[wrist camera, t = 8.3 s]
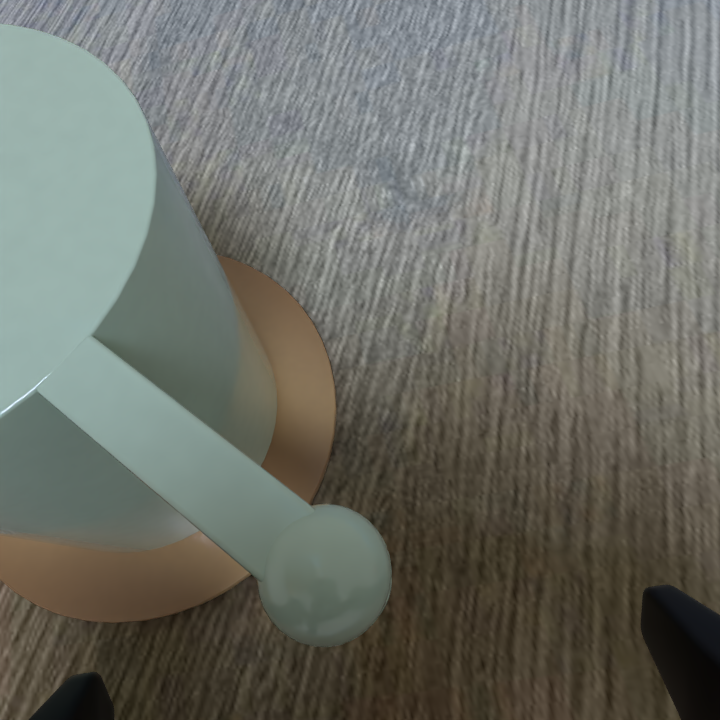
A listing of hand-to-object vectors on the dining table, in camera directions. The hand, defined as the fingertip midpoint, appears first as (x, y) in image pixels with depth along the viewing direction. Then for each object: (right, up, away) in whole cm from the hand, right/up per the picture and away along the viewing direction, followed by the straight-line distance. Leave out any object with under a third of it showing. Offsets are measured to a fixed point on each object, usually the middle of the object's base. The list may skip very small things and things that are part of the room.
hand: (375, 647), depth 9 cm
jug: (-5, +2, +8) cm, 10 cm away
